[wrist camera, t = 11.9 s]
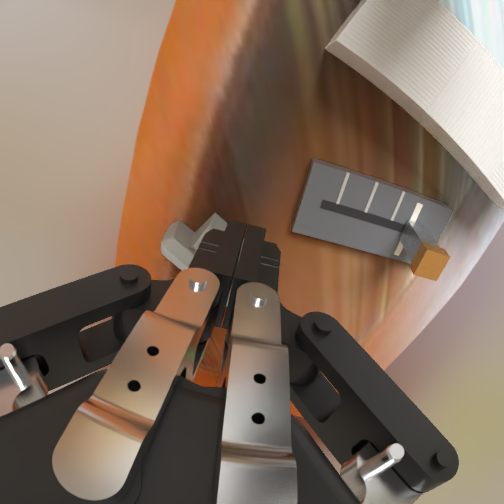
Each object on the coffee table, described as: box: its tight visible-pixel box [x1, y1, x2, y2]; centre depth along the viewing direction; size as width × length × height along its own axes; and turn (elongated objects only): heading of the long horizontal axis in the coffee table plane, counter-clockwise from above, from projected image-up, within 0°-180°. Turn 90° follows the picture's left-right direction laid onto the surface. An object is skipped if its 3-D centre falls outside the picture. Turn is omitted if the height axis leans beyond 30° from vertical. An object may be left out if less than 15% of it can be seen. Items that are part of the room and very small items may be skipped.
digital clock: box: [161, 213, 244, 306], centre depth 43 cm, size 16×9×11 cm, turn 35°
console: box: [292, 158, 453, 264], centre depth 41 cm, size 10×21×2 cm, turn 78°
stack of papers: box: [325, 0, 504, 211], centre depth 27 cm, size 32×11×11 cm, turn 59°
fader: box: [399, 220, 450, 281], centre depth 37 cm, size 4×4×8 cm
